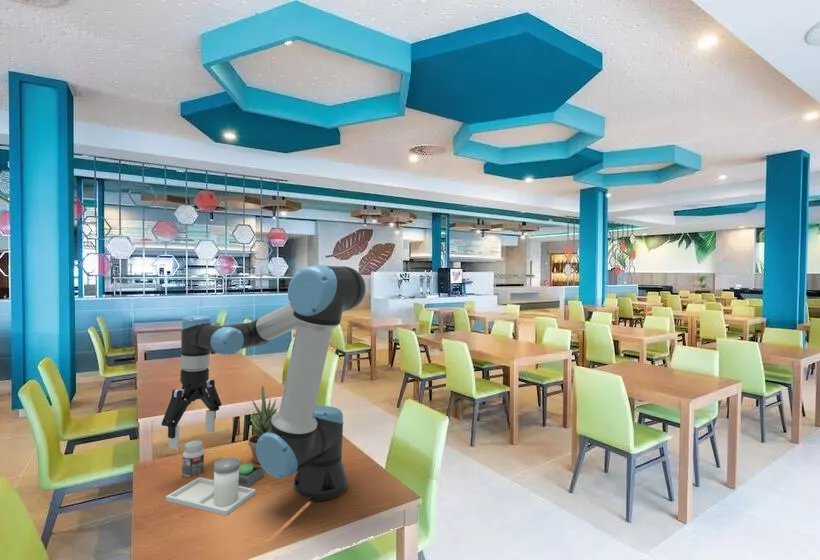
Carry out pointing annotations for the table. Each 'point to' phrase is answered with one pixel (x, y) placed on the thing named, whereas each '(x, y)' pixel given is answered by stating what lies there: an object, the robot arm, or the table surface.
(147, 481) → the table surface
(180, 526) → the table surface
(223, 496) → the white canister
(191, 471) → the pill bottle
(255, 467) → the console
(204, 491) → the white divided tray
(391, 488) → the table surface
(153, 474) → the table surface
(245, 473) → the button
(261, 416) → the potted plant
